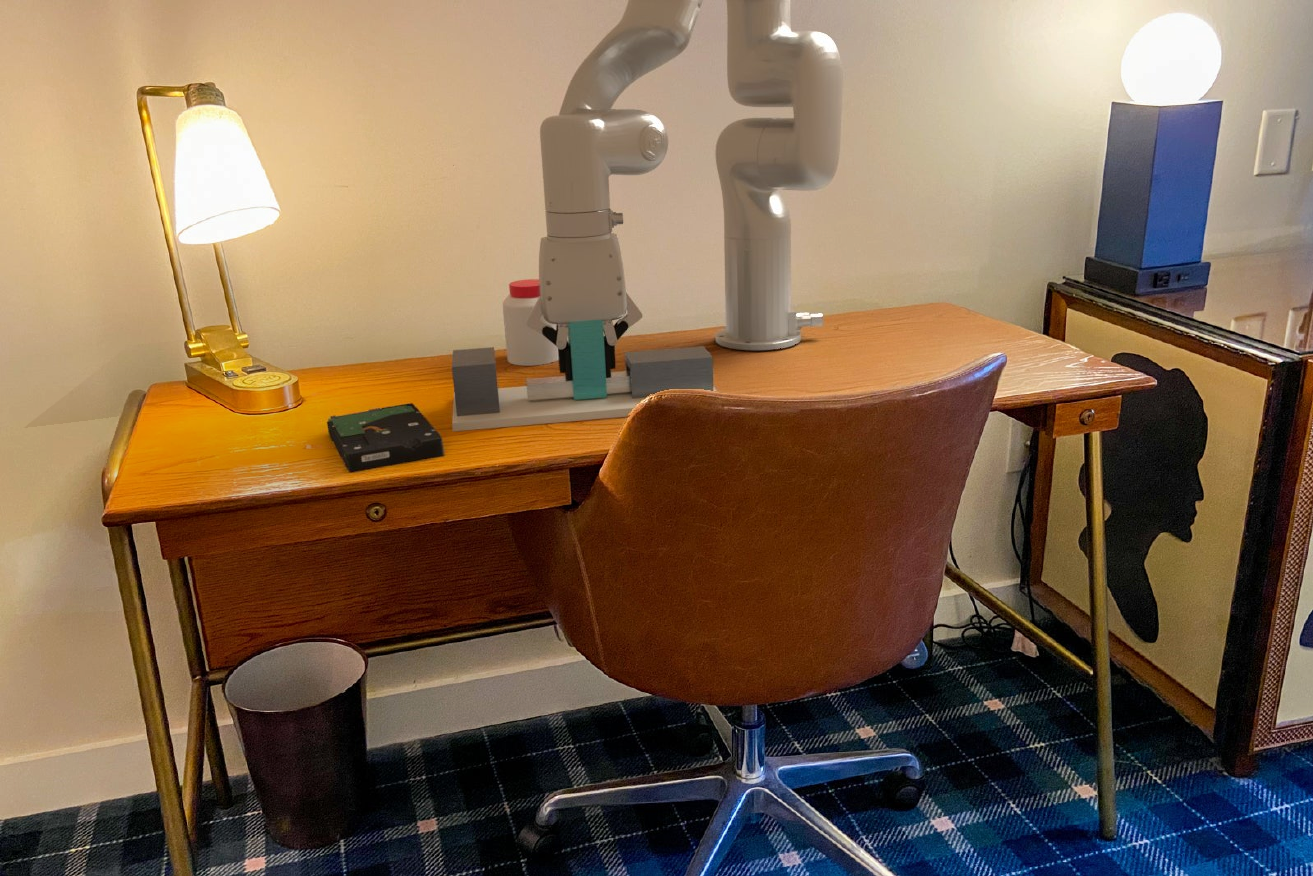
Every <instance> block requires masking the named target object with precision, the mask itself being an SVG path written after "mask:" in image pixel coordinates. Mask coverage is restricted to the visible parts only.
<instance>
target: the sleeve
mask: <svg viewBox="0 0 1313 876" xmlns="http://www.w3.org/2000/svg"><path fill="white" fill-rule="evenodd" d="M624 364H625V366H624V367H625V371H630V373H631V394H632V398H633V399H635V398H646V397H647V396H649V395H650V394H655V393H657V392H660V391H664V390H669V389H704V390H711V391H713V386H714V358H713V356H712V354H711V353H710V352H709V351H708V350H707V349H706V347H705V346H704V345H701V346H688V347H687V346H686V347H676V348H675V347H674V348H664V349H660V348H659V349H649V350H637V351H635V350H634V351H625V352H624Z"/></svg>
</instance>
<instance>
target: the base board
mask: <svg viewBox="0 0 1313 876" xmlns="http://www.w3.org/2000/svg"><path fill="white" fill-rule="evenodd" d="M713 391H717V392H718V390H717V389H716V387H715V386H714V385H713ZM498 396H499V408H500V413H491V414H479V415H467V416H457V412H456V403H455V393H454V392H453V402H452V403H453V405H452V420H451V422H452V423H451V425H452V432H462V431H474V430H483V429H484V430H485V429H497V428H508V427H520V426H533V425H543V424H554V423H567V422H577V421H578V422H579V421H589V420H603V419H604V420H605V419H612V418H613V419H614V418H627V417H629V416H628V414H629V413H630V412H631V411H632V409H633V408H634V407H635V406H636V404H637V403H639V402H640V401H641V400H642V399H645V398H635V399H633V398H632V394H631V392H623V393H611V394H607V397H605V398H593V399H580V400H574V398H573V397H562V398H550V399H538V400H528V396H527V386H526V385H525V386H509V387H500V388H499V387H498Z"/></svg>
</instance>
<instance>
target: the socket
mask: <svg viewBox="0 0 1313 876" xmlns="http://www.w3.org/2000/svg"><path fill="white" fill-rule="evenodd" d="M496 363H497V362H496V351H495V347H494V346H493V347H481V348H480V347H479V348H467V349H466V348H465V349H453V350H452V359H451V371H452V381H453V383H452V384H453V391H454V392H453V394H454V393H455V403H456V412H457V416H467V415H479V414H491V413H500V408H499V396H498V388H499V386H498V385H499V384H498V375H497V365H496Z"/></svg>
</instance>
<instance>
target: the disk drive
mask: <svg viewBox="0 0 1313 876" xmlns="http://www.w3.org/2000/svg"><path fill="white" fill-rule="evenodd" d="M329 417H330V418H328V419H327V421H326V425H327V432H328V436H329V437H330V440H331V442H332V443H333V445H334V447H335V448H336V451H337V453H338V454H339V456H340V458H341V460H342V462H343V464H344V467H345V468H346V469H347V471H348V473H357V472H362V471H366V470H373V469H378V468H379V469H380V468H384V467H385V468H386V467H391V466H397V465H403V464H408V463H413V462H419V461H425V460H430V459H434V458H442V457H445V451H444V450H445V449H444V442H443V437H442V436H441V434H440V433H439V431H437V430H436V428H435V427H434V426H433V425H432V423H430V422H429V420H428V419H427V418H426V417H425V416H424V414H423V413H422V412H421V411H420V410H419V408H418V407H416V405H415V404H414V403H413V402H411V403H410V402H409V403H405V404H404V403H403V404H398V405H391V406H386V407H382V408H380V407H377V408H372V409H370V408H369V409H368V410H366V411H359V412H355V413H354V412H353V413H349V414H343V415H337V416H336V414H335V415H330V416H329Z"/></svg>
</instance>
